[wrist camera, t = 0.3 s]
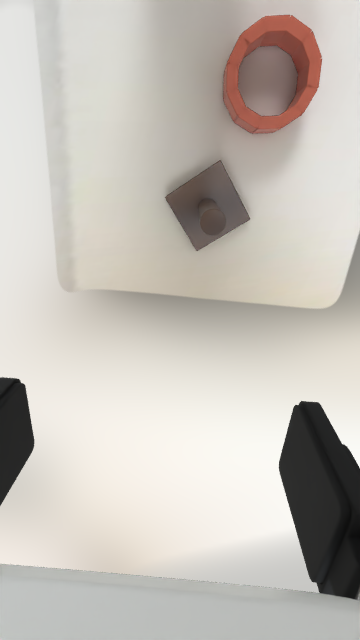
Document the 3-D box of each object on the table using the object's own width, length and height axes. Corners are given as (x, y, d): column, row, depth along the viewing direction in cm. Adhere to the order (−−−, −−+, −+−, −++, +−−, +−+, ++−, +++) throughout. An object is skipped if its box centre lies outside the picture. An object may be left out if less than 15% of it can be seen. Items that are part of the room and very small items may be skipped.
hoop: (208, 69, 36) (209, 57, 32) (287, 9, 33) (298, -10, 30) (246, 150, 39) (251, 147, 35) (321, 101, 37) (334, 93, 33)
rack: (165, 196, 42) (152, 207, 29) (219, 160, 40) (231, 154, 27) (196, 249, 44) (197, 280, 31) (249, 218, 42) (272, 237, 29)
